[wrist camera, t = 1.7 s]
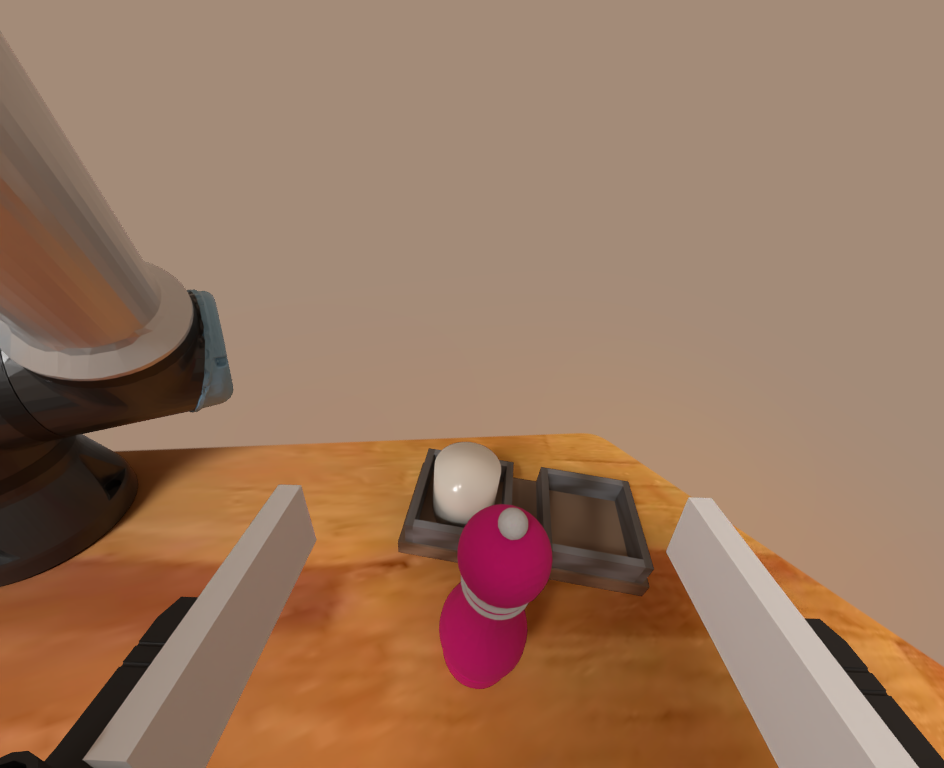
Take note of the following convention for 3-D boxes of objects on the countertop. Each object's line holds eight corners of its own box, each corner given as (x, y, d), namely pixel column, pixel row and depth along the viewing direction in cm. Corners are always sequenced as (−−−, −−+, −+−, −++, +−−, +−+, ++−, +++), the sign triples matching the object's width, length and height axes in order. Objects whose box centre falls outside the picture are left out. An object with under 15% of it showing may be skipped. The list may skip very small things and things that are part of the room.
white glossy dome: (421, 518, 39) (422, 477, 35) (449, 474, 44) (452, 434, 40) (479, 544, 37) (487, 505, 33) (501, 495, 42) (509, 455, 38)
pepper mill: (488, 587, 36) (526, 451, 24) (533, 663, 31) (607, 540, 19) (423, 626, 32) (430, 490, 21) (462, 719, 28) (499, 610, 16)
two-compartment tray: (398, 551, 38) (397, 525, 35) (423, 472, 47) (423, 446, 44) (642, 596, 36) (661, 572, 34) (619, 506, 45) (633, 481, 42)
